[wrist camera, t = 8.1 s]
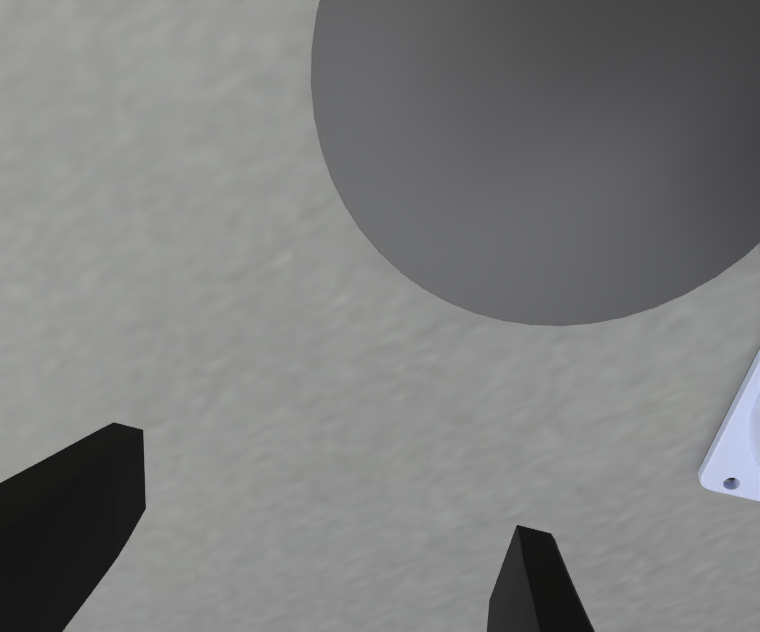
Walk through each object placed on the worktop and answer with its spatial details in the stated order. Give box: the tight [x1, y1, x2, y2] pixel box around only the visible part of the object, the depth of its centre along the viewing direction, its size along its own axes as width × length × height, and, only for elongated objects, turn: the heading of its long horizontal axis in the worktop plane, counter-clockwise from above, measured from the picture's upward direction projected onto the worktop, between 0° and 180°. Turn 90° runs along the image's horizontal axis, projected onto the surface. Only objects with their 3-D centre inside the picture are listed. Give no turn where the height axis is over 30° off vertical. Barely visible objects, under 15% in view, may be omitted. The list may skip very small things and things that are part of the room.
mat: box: [311, 0, 760, 326], centre depth 16 cm, size 14×14×1 cm
